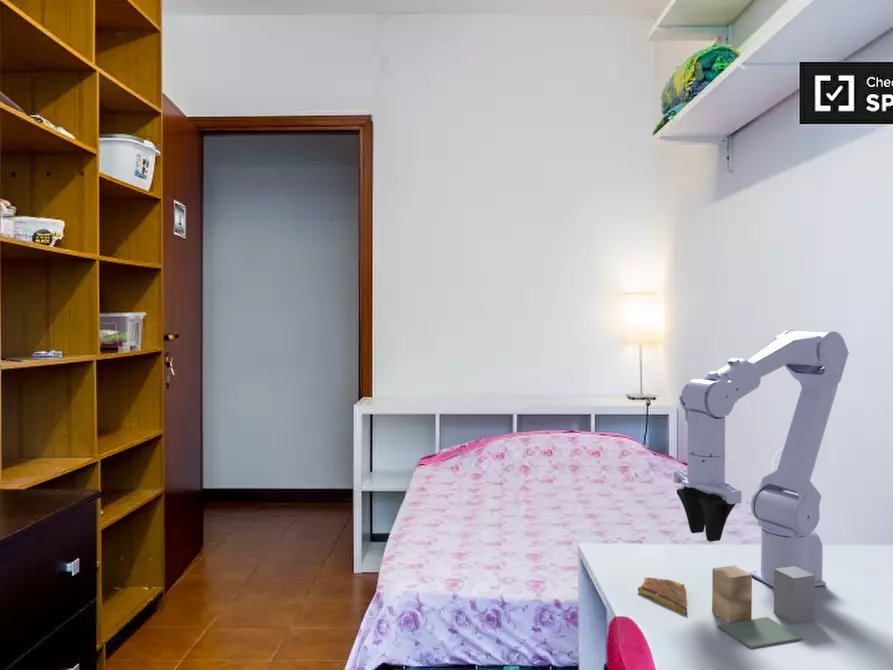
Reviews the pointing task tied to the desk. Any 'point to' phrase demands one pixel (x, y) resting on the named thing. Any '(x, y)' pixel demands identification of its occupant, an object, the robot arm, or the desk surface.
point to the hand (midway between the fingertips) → (705, 536)
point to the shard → (665, 593)
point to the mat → (759, 632)
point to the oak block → (732, 594)
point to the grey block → (794, 594)
